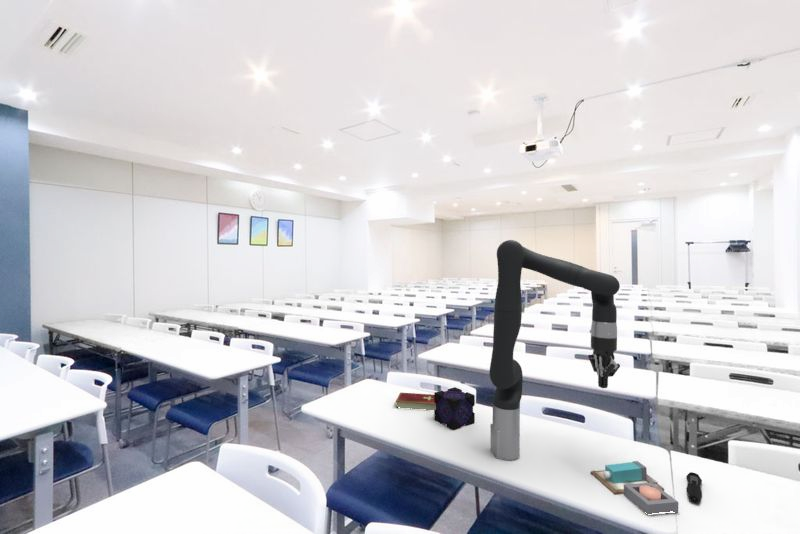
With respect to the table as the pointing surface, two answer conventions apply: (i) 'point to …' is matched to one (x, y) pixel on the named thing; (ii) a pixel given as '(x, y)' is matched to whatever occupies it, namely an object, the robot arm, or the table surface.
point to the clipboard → (619, 487)
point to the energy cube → (454, 408)
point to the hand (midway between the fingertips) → (602, 387)
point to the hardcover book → (416, 401)
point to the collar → (653, 505)
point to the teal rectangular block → (625, 472)
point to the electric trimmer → (694, 487)
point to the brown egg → (650, 492)
